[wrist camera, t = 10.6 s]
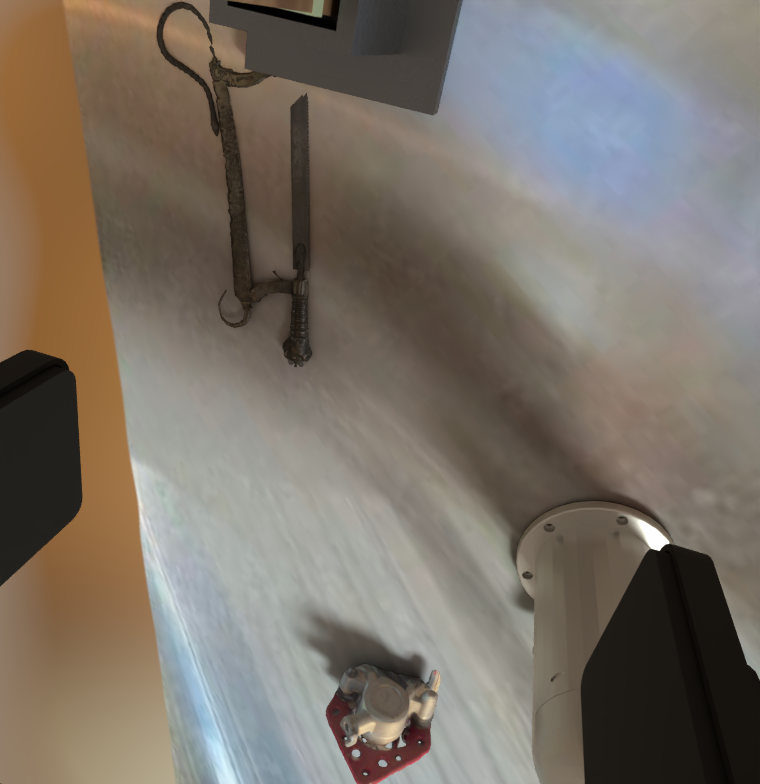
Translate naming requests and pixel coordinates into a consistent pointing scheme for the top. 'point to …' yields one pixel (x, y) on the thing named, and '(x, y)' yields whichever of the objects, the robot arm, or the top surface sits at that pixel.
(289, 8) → the column
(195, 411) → the top surface
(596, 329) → the top surface
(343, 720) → the brake caliper
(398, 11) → the sleeve
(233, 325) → the hacksaw
